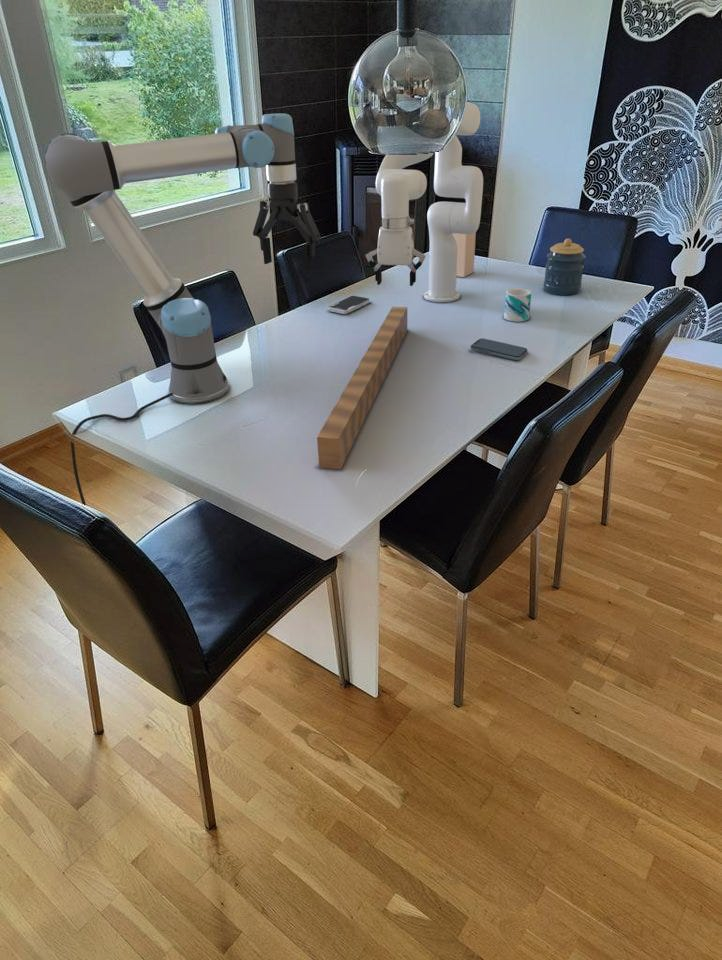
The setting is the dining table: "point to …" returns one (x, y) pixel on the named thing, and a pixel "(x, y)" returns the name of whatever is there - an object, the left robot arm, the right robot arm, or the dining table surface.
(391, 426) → the dining table surface
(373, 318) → the dining table surface
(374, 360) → the post
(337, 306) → the smartphone
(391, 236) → the right robot arm
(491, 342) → the smartphone
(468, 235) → the tan upright wooden block
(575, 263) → the canister
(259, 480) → the dining table surface
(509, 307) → the mug
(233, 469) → the dining table surface
